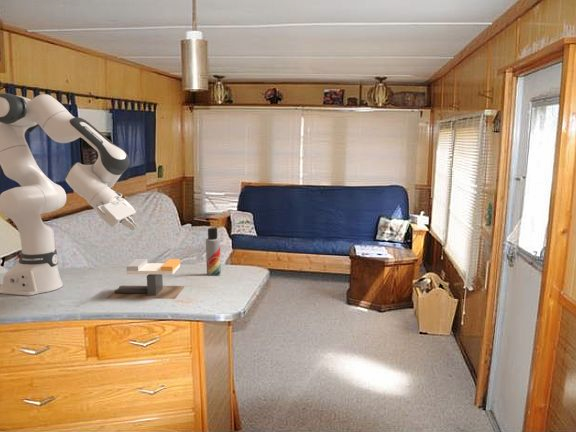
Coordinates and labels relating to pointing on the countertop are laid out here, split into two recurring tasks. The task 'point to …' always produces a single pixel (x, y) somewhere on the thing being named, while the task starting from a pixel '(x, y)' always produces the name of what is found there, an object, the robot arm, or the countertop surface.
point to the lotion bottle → (213, 253)
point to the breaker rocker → (153, 267)
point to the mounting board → (165, 293)
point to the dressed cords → (132, 290)
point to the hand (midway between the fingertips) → (135, 228)
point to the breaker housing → (154, 284)
